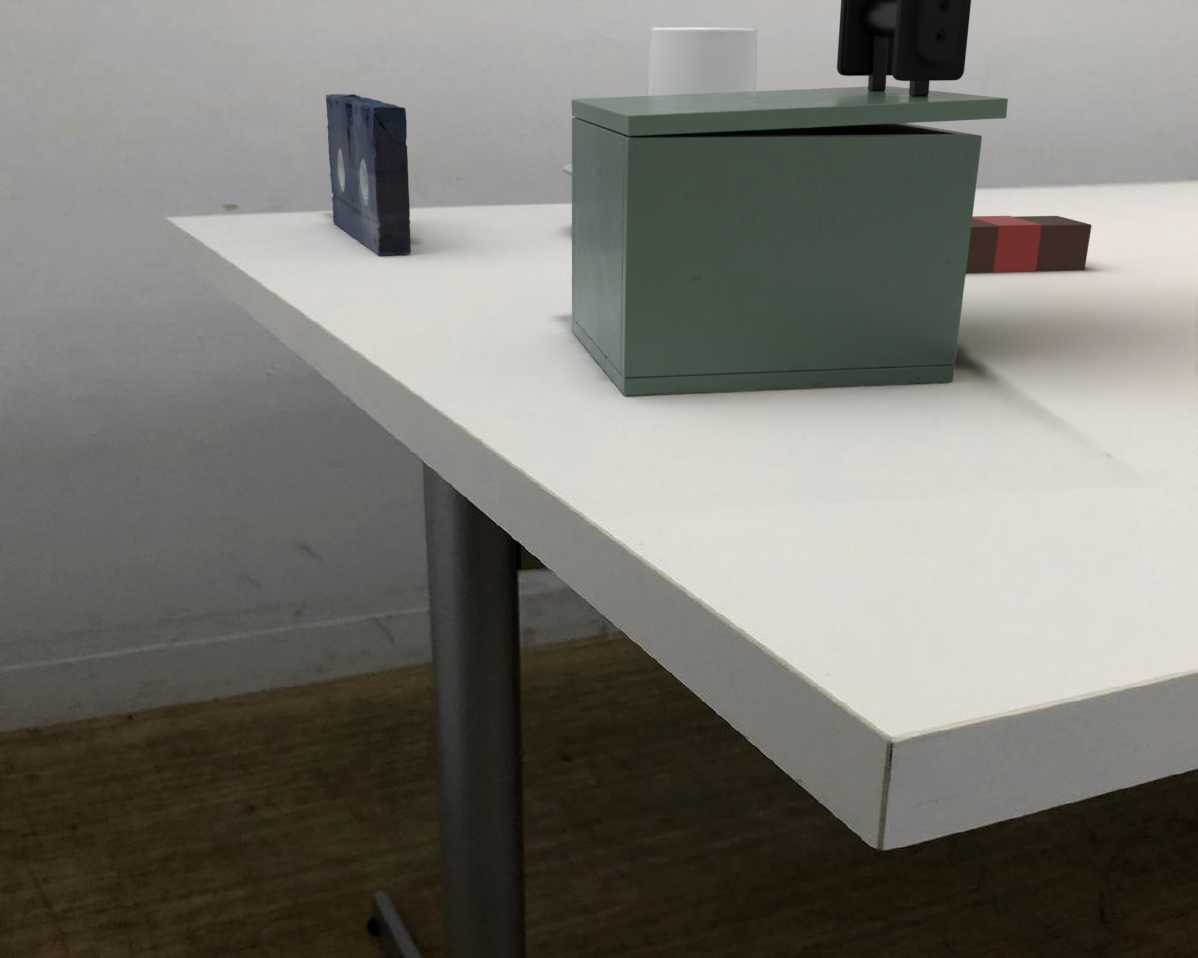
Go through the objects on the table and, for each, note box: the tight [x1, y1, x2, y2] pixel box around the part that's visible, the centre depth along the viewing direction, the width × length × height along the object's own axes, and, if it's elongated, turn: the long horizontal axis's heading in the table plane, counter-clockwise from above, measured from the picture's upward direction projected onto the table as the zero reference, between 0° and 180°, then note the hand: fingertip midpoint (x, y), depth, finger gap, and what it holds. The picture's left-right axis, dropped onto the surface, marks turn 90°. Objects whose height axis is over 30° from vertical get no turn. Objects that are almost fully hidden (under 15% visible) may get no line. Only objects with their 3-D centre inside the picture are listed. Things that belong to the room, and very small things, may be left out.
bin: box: [571, 116, 983, 397], centre depth 63 cm, size 16×14×11 cm
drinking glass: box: [646, 26, 758, 96], centre depth 83 cm, size 7×7×15 cm
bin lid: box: [571, 0, 1009, 136], centre depth 60 cm, size 17×14×5 cm
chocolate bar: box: [966, 215, 1092, 274], centre depth 85 cm, size 10×4×4 cm, turn 101°
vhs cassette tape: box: [325, 93, 412, 256], centre depth 99 cm, size 18×3×10 cm, turn 19°
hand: (896, 73), depth 61 cm, fingers closed on bin lid, 6 cm apart
